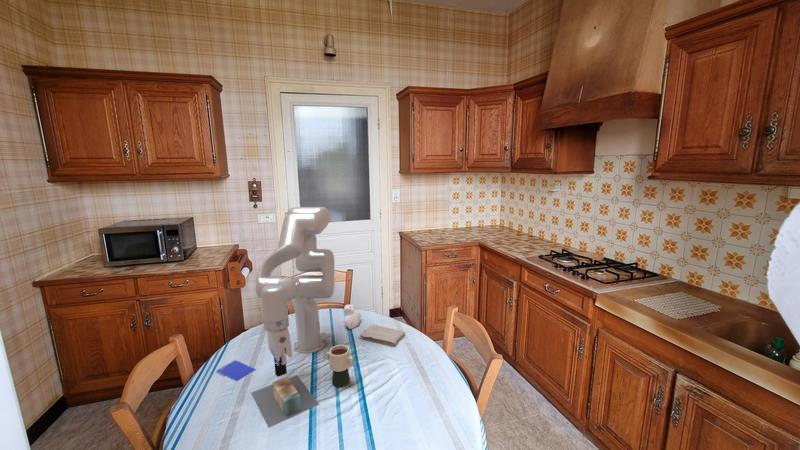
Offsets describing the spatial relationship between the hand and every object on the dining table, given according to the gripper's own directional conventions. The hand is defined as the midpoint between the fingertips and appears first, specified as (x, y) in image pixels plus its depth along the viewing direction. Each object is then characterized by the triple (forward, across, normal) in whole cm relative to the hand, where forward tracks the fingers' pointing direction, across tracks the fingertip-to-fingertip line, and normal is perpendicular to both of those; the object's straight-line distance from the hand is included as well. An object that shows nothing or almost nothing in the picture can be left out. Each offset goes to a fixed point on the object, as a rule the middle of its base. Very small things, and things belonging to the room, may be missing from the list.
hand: (281, 374), depth 113 cm
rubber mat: (+9, -1, 0) cm, 9 cm away
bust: (+9, +32, -44) cm, 55 cm away
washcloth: (+10, +13, -49) cm, 52 cm away
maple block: (+6, +2, 0) cm, 6 cm away
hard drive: (+10, +26, +9) cm, 29 cm away
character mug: (+9, -5, -19) cm, 22 cm away
